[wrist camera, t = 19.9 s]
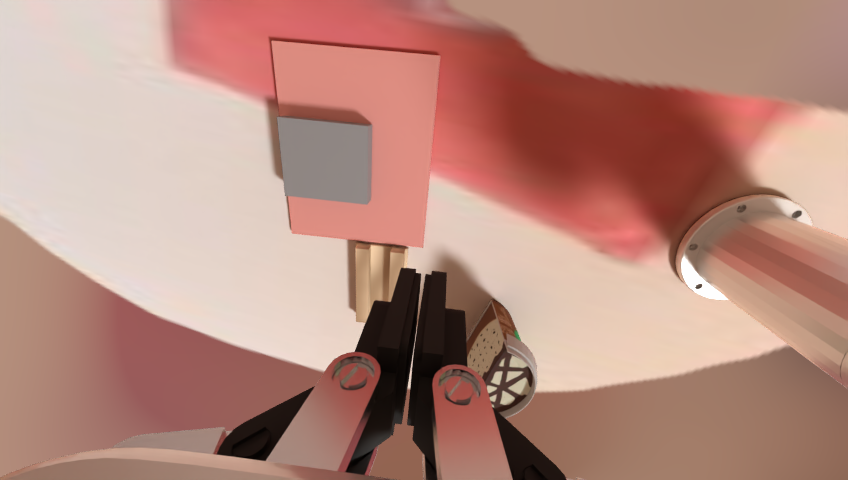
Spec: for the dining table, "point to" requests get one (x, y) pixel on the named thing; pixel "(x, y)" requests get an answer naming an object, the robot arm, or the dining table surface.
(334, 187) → the grey square slab
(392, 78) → the mat
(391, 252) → the stand
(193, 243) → the dining table surface
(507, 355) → the half round cake
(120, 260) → the dining table surface
